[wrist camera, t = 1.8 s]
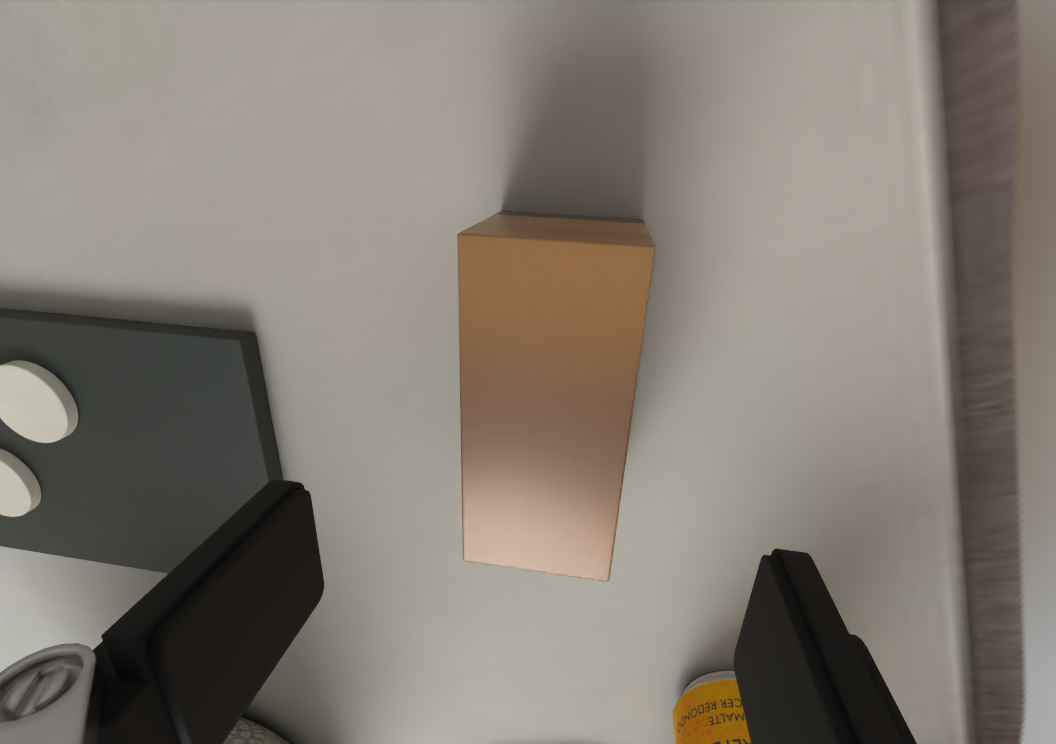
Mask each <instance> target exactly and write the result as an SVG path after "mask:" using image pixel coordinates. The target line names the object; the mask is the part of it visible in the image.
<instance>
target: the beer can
mask: <svg viewBox="0 0 1056 744" xmlns="http://www.w3.org/2000/svg"><path fill="white" fill-rule="evenodd" d="M673 726H674V735H675V744H751V741H750V737H749V732H748V728H747V724H746V719H745V715H744V711H743V706H742V702H741V698H740V693H739V689H738V685H737V681H736V676H735V671H719V672H713V673H709V674H706V675H703V676H701V677H699V678H697V679H696V680H694V681H693V682H691V683H690V684H689V685H688V686H687V688H686V689H685V691H684V693H683V695H682V696H681V697H680V699H679V700H678V701H677V703H676V705H675V707H674V710H673Z"/></svg>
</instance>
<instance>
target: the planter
mask: <svg viewBox="0 0 1056 744" xmlns="http://www.w3.org/2000/svg"><path fill="white" fill-rule="evenodd" d="M223 744H290V743H289V742H287V741H286V740H285V739H283V738H282V737H281V736H279V735H278V734H276V733H275V732H273V731H271V730H270V729H268V728H266V727H264V726H262V725H260V724H258V723H256V722H253V721H251V720H248V719H245V718H242V717H241V718H240V719H239V721H238V722H237V724H236V725H235V727H234V728H233V730H232V731H231V733H230V734H229V736H228V737H227V739H226V740H225V742H224V743H223Z"/></svg>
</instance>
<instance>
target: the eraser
mask: <svg viewBox="0 0 1056 744" xmlns="http://www.w3.org/2000/svg"><path fill="white" fill-rule="evenodd" d="M654 253H655V246H654V244H653V242H652V239H651V237H650V235H649V233H648V230H647V228H646V226H645V223H644V221H643V220H642V219H628V218H611V217H594V216H577V215H560V214H542V213H525V212H508V211H500V212H498V213H497V214H495V215H493V216H491V217H489V218H487V219H486V220H484V221H482V222H480V223H478V224H476V225H474V226H472V227H470V228H468V229H466V230H464V231H462V232H460V233H459V234H458V286H459V346H460V405H461V465H462V524H463V560H464V561H471V562H477V563H484V564H491V565H498V566H505V567H511V568H518V569H525V570H532V571H538V572H545V573H552V574H559V575H566V576H572V577H579V578H586V579H593V580H600V581H606V582H607V581H609V579H610V571H611V564H612V557H613V550H614V542H615V535H616V528H617V521H618V513H619V506H620V499H621V492H622V485H623V477H624V470H625V463H626V456H627V448H628V441H629V434H630V427H631V419H632V412H633V405H634V398H635V391H636V383H637V376H638V369H639V362H640V354H641V347H642V340H643V333H644V325H645V318H646V311H647V304H648V297H649V289H650V282H651V275H652V268H653V260H654Z"/></svg>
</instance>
